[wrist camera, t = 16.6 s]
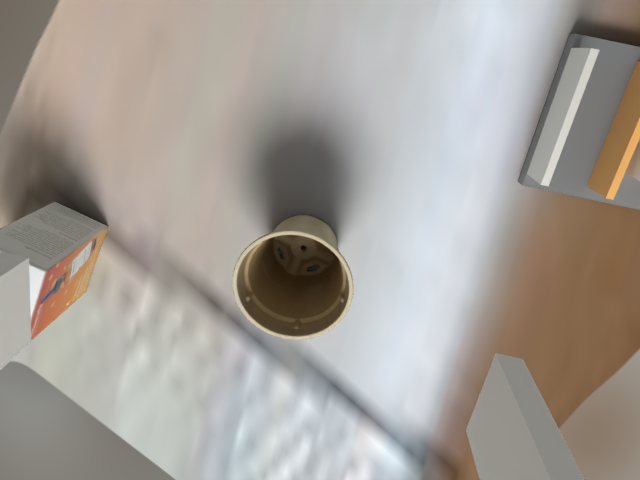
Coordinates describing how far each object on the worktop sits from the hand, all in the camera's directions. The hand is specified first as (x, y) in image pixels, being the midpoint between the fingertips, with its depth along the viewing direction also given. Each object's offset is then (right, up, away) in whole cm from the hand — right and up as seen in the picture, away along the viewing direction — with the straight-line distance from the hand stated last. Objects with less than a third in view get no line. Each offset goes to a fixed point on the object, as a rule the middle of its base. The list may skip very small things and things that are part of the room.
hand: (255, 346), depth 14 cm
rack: (+28, +12, +27) cm, 41 cm away
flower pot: (0, +2, +33) cm, 33 cm away
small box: (-22, +2, +35) cm, 42 cm away
